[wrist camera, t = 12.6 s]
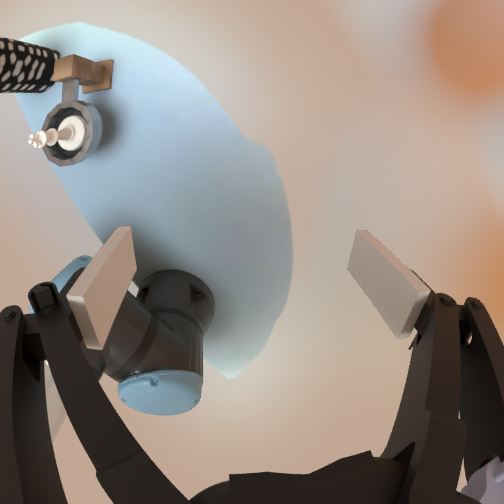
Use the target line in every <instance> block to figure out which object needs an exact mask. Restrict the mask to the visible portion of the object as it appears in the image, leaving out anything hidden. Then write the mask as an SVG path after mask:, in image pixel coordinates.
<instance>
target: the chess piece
mask: <svg viewBox="0 0 504 504" xmlns="http://www.w3.org/2000/svg"><path fill="white" fill-rule="evenodd" d="M86 137H87V125H86V122H85V121H84V119H83V118H82V117H80V116H77V115H73V116H70V117H67V118H66V119H64V120H63V121H62V123H61V124H60V126H59V128H58V131H57V130H56V129H54V128H51V129H49V130H48V131H47V132H45V131H42V130H41V131H38V132H37V133H36V135H35V134H34V133H33V134H31V135H30V138H31V139H30V140H29V141H28V142H29V144H33V145H34V147H35V148H37V147H38V148H42V147H44V146H45V145H46V144H47V145H49V146H52V145H54V144H55V143H56V142H57V140H58V142H59V144H60V146H61V147H62V148H63V149H65V150H69V151H73V150H76V149H78V148H80V147H81V146H82V145H83V143H84V142H85V140H86Z"/></svg>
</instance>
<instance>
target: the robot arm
mask: <svg viewBox="0 0 504 504" xmlns="http://www.w3.org/2000/svg"><path fill="white" fill-rule="evenodd" d="M347 269H348V271H349V272H350V273H351V275H352V276H353V277H354V279H355V280H356V281H357V282H358V284H359V285H360V287H361V288H362V289H363V291H364V292H365V293H366V295H367V296H368V297H369V299H370V300H371V302H372V303H373V305H374V306H375V307H376V308H377V310H378V312H379V313H380V314H381V316H382V317H383V319H384V320H385V322H386V323H387V325H388V326H389V327H390V329H391V330H392V332H393V333H394V335H395V336H396V338H397V339H401V338H406V337H409V335H410V334H411V332H412V330H413V328H415V329H416V330H417V334H416V337H415V338H414V340H413V342H412V343H411V346H410V347H409V350H410V349H411V348H412V347H413V350H412V355H411V361H410V366H409V370H408V375H407V379H406V383H405V388H404V392H403V395H402V400H401V403H400V407H399V410H398V413H397V417H396V420H395V423H394V426H393V430H392V432H391V435H390V438H389V441H388V444H387V446H386V448H385V450H384V452H383V453H382V455H381V456H380V457H373V456H372V453H371V451H370V450H369V451H366V452H363V453H360V454H357V455H353V456H349V457H345V458H342V459H339V460H337V461H335V462H333V463H331V464H329V465H327V466H325V467H323V468H321V469H319V470H317V471H314V472H312V473H310V474H304V475H303V474H286V473H285V474H284V473H273V472H260V473H247V474H229V481H225V482H221V483H219V484H215V485H213V486H211V487H209V488H206V489H205V490H203V491H201V492H199V493H198V494H197V495H195V496H194V497H193V498H191V499H190V500H187V498H186V497H184V495H183V494H182V493H181V492H180V491H179V490H178V489H177V488H176V487H175V486H174V485H173V484H172V483H171V482H170V481H169V480H168V479H167V477H166V476H165V475H163V473H162V472H161V471H160V469H159V468H158V467H157V466H156V465H155V463H154V462H153V461H152V460H151V459H150V457H149V456H148V455H147V454H146V452H145V451H144V450H143V449H142V448H141V446H140V445H139V444H138V442H137V441H136V440H135V438H134V437H133V435H132V434H131V433H130V431H129V430H128V428H127V427H126V425H125V424H124V423H123V421H122V420H121V418H120V416H119V415H118V413H117V412H116V410H115V409H114V407H113V406H112V404H111V402H110V401H109V399H108V397H107V396H106V394H105V392H104V391H103V389H102V387H101V385H100V384H99V380H100V378H101V376H102V374H103V373H105V374H107V375H108V376H110V377H111V378H113V379H114V380H116V381H117V382H118V383H119V384H118V395H119V397H120V398H121V400H122V402H123V403H125V404H126V405H127V406H129V407H131V408H133V409H135V410H137V411H140V412H143V413H148V414H153V415H176V414H181V413H184V412H187V411H189V410H191V409H192V408H194V407H195V406H196V405H197V404H198V402H199V401H200V398H201V389H202V385H203V336H204V334H205V332H206V330H207V328H208V326H209V324H210V323H211V320H212V317H213V311H214V303H213V297H212V294H211V292H210V291H209V289H208V288H207V286H206V285H205V284H204V283H203V282H202V281H201V280H199V279H198V278H196V277H195V276H193V275H191V274H188V273H186V272H182V271H177V270H165V271H160V272H157V273H154V274H152V275H151V276H149V277H148V278H146V279H145V280H144V282H143V283H142V284H141V286H140V288H139V291H138V294H137V297H135V296H133V295H132V294H131V293H130V292H129V291H128V290H127V289H128V287H129V285H130V283H131V281H132V278H133V276H134V274H135V272H136V270H137V266H136V260H135V253H134V246H133V238H132V230H131V226H119V227H118V228H117V229H116V230H115V231H114V233H113V234H112V235H111V236H110V237H109V239H108V240H107V241H106V242H105V244H104V245H103V246H102V247H101V249H100V250H99V251H98V252H97V254H96V255H95V256H94V258H91V257H90V256H86V255H85V256H80V257H78V258H76V259H75V260H73V261H72V262H71V263H70V264H69V265H67V266H66V267H65V268H64V269H63V270H62V271H61V272H60V273H59V274H58V275H57V276H56V277H55V278H54V279H53V280H52V281H51V282H43V283H39V284H38V285H36V286H34V287H33V288H32V289H31V290H30V291H29V293H28V298H29V301H30V303H31V304H30V305H29V311H30V313H31V314H25V315H23V312H22V310H21V308H20V307H19V306H16V305H13V306H9V307H6V308H5V309H3V310H2V311H1V313H0V504H68V502H67V499H66V497H65V493H64V490H63V487H62V483H61V480H60V476H59V472H58V468H57V464H56V460H55V455H54V451H53V445H52V443H53V441H54V439H55V437H56V435H57V433H58V431H59V429H60V427H61V425H62V423H63V421H64V419H65V417H66V415H68V417H69V419H70V421H71V423H72V426H73V428H74V430H75V432H76V434H77V436H78V438H79V439H80V441H81V443H82V445H83V447H84V449H85V451H86V453H87V454H88V456H89V458H90V460H91V461H92V463H93V465H94V467H95V468H96V471H97V472H96V476H97V479H98V481H99V483H100V484H101V486H102V488H103V489H104V490H105V492H106V493H107V495H108V496H109V498H110V499H111V500H112V502H113V503H114V504H504V345H503V343H502V341H501V339H500V337H499V334H498V332H497V330H496V328H495V326H494V324H493V322H492V320H491V318H490V316H489V314H488V312H487V310H486V308H485V306H484V305H483V303H481V302H480V300H477V298H472V297H468V298H467V299H466V301H465V303H464V305H457V304H456V301H455V300H454V299H453V298H451V297H450V296H449V295H446V294H443V293H437V294H436V293H435V292H434V291H433V290H432V289H431V288H430V287H429V286H428V285H427V284H426V283H425V282H423V280H422V279H421V278H419V276H418V275H417V274H416V273H415V272H414V271H412V270H411V269H409V268H408V267H407V266H406V265H405V264H404V263H403V262H402V261H400V259H398V258H397V257H396V256H395V255H394V254H393V253H392V252H391V251H390V250H389V249H387V247H385V246H384V245H383V244H382V243H381V242H380V241H379V240H378V239H376V238H375V237H374V236H373V235H372V234H371V233H370V232H368V231H367V230H356V234H355V239H354V243H353V248H352V252H351V256H350V260H349V264H348V268H347ZM471 335H472V339H471V342H470V344H469V343H468V340H469V338H470V337H471ZM459 412H460V419H459V418H458V415H459ZM463 458H464V468H465V475H466V480H467V484H468V485H466V486H465V487H463V488H462V490H461V493H460V492H458V491H456V488H457V484H458V480H459V476H460V471H461V466H462V460H463Z"/></svg>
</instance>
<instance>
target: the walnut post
mask: <svg viewBox="0 0 504 504" xmlns="http://www.w3.org/2000/svg"><path fill="white" fill-rule="evenodd" d="M112 70H113V60H112V59H110V60H105V61H100V62H94V61H91V60H88V59H86V58H83V57H80V56H77V55H75V54H73V55H69V56H66V57H63V58H60V59H57V60H55V66H54V75H53V81H57V82H63V81H65V80H69V79H73V78H78V79H79V85H82V93H84V94H85V93H90V92H95V91H100V90H105V89H111V83H112Z"/></svg>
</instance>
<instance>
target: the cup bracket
mask: <svg viewBox="0 0 504 504" xmlns="http://www.w3.org/2000/svg"><path fill="white" fill-rule="evenodd" d="M78 90H79V79H78V78H73V79H69V80H65V81H63V89H62V103H60V104H58V105H57V106H56V107H55V108H54V109H53V110H52V111H51V112H50V113H49V114H48V115H47V117H46V119H45V122H44V124H43V127H42V131H45V132H47V131H48V130H49V129H51V128H54V129H56V130H57V131H58V128H59V126H60V124H61V123H62V121H63V120H64V119H66V118H67V117H70V116H73V115H77V116H80V117H82V118H83V119H84V121H85V122H86V125H87V137H86V140H85V142H84V143H83V145H82V146H81V147H80V148H78V149H76V150H73V151H69V150H65V149H63V148H62V147H61V146H60V144H59V142H58V140H57V142H56V143H55V144H54V145H52V146H49V145H47V144H46V145H45V146H44V147H42V149H43V151H44V153H45V154H46V156H47V158H48V160H49V161H51V162H53V163H54V164H56V165H58V166H60V167H61V166H68V165H74V164H76V163H79V162H82V161H83V160H85V159H86V158H88V157H89V156H90V155H92V154H93V153H94V151H95V150H96V149H97V147H98V145H99V143H100V141H101V138H102V133H103V122H102V118H101V115H100V113H99V112H98V110H97V109H96V108H95V107H94V106H93V105H91V104H89V103H86V102H83V101H78Z"/></svg>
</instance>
